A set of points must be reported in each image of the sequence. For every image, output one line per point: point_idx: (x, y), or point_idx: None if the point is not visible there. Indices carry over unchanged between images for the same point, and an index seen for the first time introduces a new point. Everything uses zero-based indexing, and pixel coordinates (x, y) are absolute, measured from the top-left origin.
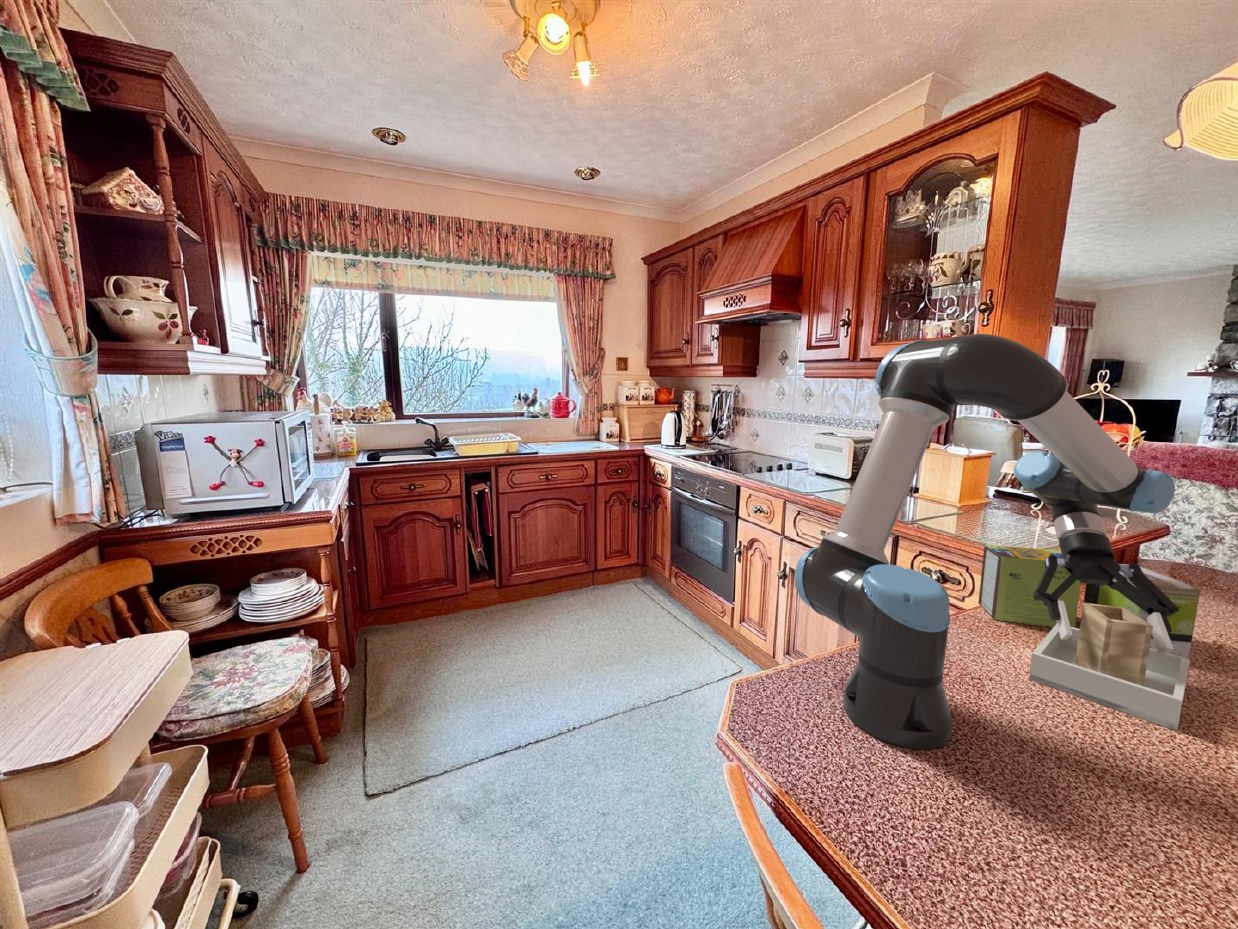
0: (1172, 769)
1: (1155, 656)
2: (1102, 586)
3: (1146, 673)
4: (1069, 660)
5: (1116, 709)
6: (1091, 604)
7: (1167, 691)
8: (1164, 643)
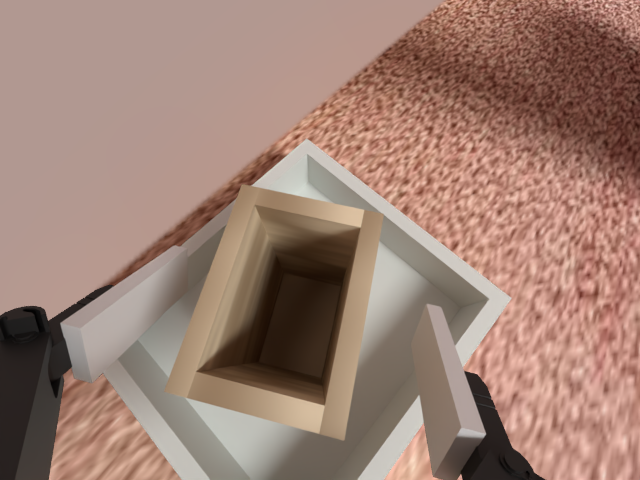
0: (389, 99)
1: (136, 372)
2: None
3: None
4: None
5: None
6: (317, 413)
7: None
8: (177, 261)
